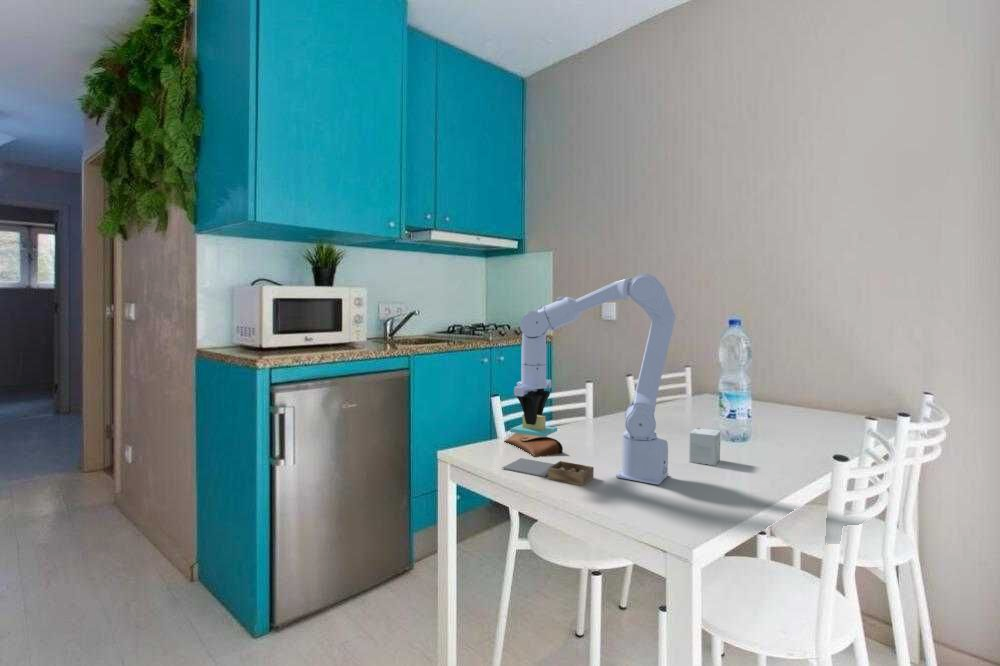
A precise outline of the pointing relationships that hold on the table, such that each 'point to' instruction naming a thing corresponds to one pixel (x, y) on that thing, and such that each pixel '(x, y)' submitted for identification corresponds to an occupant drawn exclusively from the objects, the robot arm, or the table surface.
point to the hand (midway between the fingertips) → (533, 423)
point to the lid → (534, 427)
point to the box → (570, 473)
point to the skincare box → (704, 446)
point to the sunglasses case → (536, 444)
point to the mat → (529, 467)
